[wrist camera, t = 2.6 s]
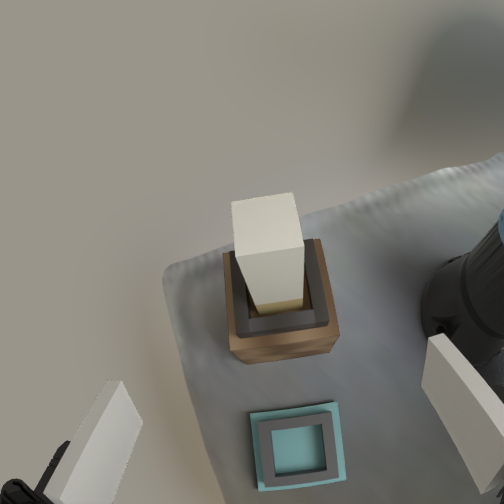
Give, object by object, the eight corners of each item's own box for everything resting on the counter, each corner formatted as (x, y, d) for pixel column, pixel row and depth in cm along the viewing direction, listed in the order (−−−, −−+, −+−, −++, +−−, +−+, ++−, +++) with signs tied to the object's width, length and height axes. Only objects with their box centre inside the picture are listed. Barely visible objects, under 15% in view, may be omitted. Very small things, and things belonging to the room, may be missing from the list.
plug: (295, 269, 30) (292, 191, 20) (302, 308, 28) (304, 246, 18) (254, 275, 31) (231, 201, 20) (259, 315, 29) (235, 256, 18)
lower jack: (336, 401, 33) (339, 401, 30) (345, 477, 28) (348, 483, 25) (251, 413, 33) (247, 414, 31) (259, 489, 29) (256, 495, 26)
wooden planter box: (315, 277, 40) (321, 228, 30) (329, 352, 35) (343, 329, 25) (239, 288, 41) (218, 243, 30) (246, 364, 36) (225, 346, 26)
